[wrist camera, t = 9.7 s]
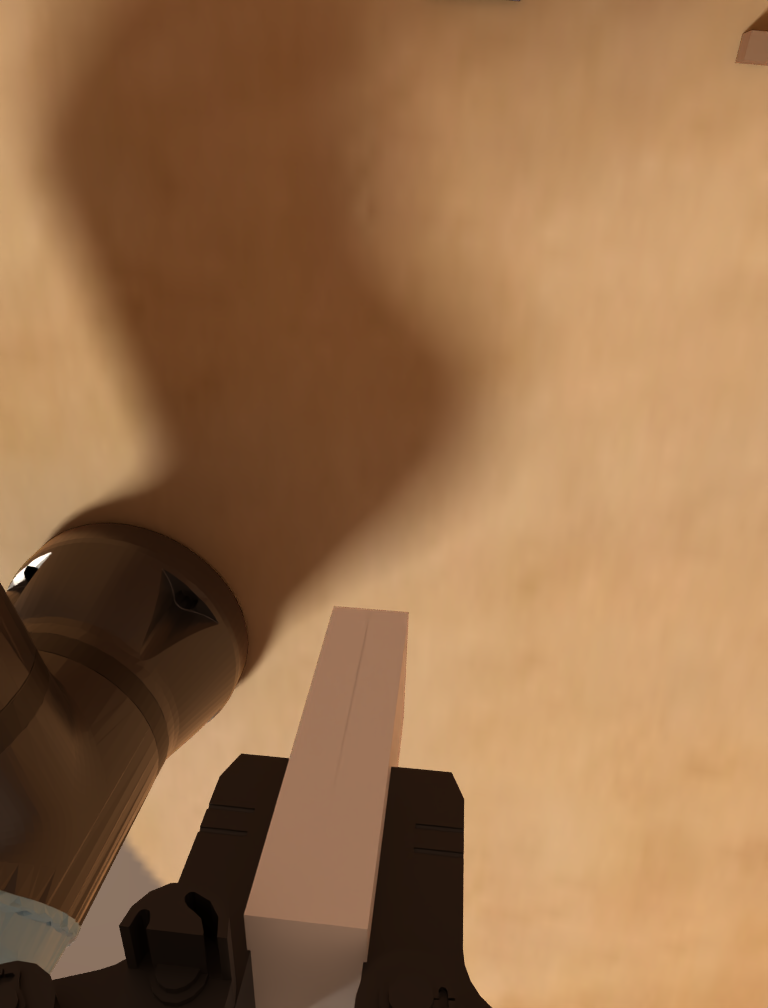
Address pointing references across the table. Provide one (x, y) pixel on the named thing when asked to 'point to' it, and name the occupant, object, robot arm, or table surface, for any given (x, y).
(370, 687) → the robot arm
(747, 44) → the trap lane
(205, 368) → the table surface
